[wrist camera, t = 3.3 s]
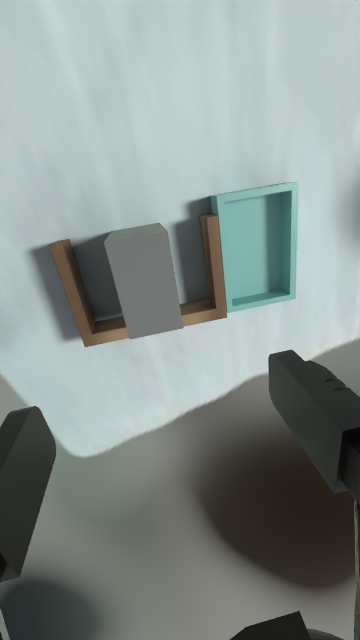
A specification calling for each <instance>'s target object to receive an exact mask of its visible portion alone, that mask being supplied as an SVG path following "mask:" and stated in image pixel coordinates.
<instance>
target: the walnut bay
mask: <svg viewBox="0 0 360 640" xmlns="http://www.w3.org/2000/svg"><path fill="white" fill-rule="evenodd" d="M199 218H200V226H201V235H202V243H203V252H204V260H205V269H206V277H207V286H208V294H209V299H205V300H200V301H195V302H190V303H185V304H180V310H181V316H182V322H183V327H184V326H189V325H193V324H198V323H203V322H208V321H213V320H217V319H222V318H227V311H226V300H225V289H224V278H223V267H222V256H221V245H220V234H219V223H218V216H217V215H212V214H206V215H200V216H199ZM50 249H51V252H52V255H53V258H54V261H55V263H56V266H57V269H58V272H59V275H60V278H61V280H62V283H63V286H64V289H65V292H66V295H67V298H68V300H69V303H70V306H71V309H72V312H73V315H74V317H75V320H76V323H77V326H78V329H79V332H80V335H81V337H82V340H83V343H84V346H85V347H88V346H93V345H98V344H103V343H107V342H112V341H117V340H122V339H126V338H129V335H128V331H127V327H126V323H125V320H124V316H121V317H116V318H111V319H106V320H101V321H97V322H96V321H95V318H94V315H93V312H92V309H91V306H90V302H89V299H88V296H87V293H86V290H85V287H84V284H83V280H82V277H81V274H80V271H79V268H78V265H77V262H76V258H75V255H74V252H73V249H72V246H71V243H70V239H67V240H61V241H58V242H56V243H54V244H52V245H51V246H50Z"/></svg>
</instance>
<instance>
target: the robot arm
mask: <svg viewBox="0 0 360 640" xmlns="http://www.w3.org/2000/svg"><path fill="white" fill-rule="evenodd" d="M268 362H269V392H270V396H271V400H272V402H273V404H274V406H275V407H276V409H277V411H278V412H279V414H280V415H281V416H282V418H283V419H284V421H285V422H286V424H287V425H288V427H289V428H290V429H291V431H292V433H293V434H294V435H295V437H296V438H297V440H298V441H299V443H300V444H301V446H302V447H303V449H304V450H305V452H306V453H307V455H308V456H309V457H310V459H311V460H312V462H313V463H314V465H315V466H316V468H317V469H318V471H319V472H320V473H321V475H322V476H323V478H324V479H325V481H326V482H327V484H328V485H329V487H330V488H331V489H332V491H333V493H334V494H336V493H340V492H344V491H347V490H349V491H350V492H351V494H352V496H353V497H354V498H355V547H356V596H355V607H354V640H360V397H359V396H358V395H356V394H355V393H354V392H353V391H352V390H351V389H350V388H347V387H346V385H345V384H344V383H343V382H342V381H340V380H339V379H337V377H336V376H335V375H334V374H332V373H331V372H330V371H329V370H328V369H327V368H325V367H323V366H321V365H319V364H317V363H315V362H313V361H311V360H310V361H304V360H303V359H302V358H301V357H300V356H299V355H298V354H297V353H295V352H294V351H293V350H287V351H283V352H278V353H274V354H270V355H269V360H268ZM55 457H56V445H55V440H54V437H53V435H52V433H51V431H50V429H49V427H48V425H47V423H46V421H45V419H44V417H43V414H42V412H41V410H40V409H39V408H38V407H37V406H33V407H29V408H24V409H20V410H15V411H11V412H10V413H9V414H8V415H7V417H6V418H5V420H4V422H3V424H2V425H1V427H0V582H3V581H7V580H11V579H14V578H18V577H20V574H21V571H22V567H23V564H24V560H25V557H26V554H27V551H28V547H29V544H30V540H31V537H32V534H33V530H34V527H35V524H36V521H37V517H38V514H39V511H40V507H41V504H42V501H43V497H44V494H45V490H46V487H47V484H48V481H49V477H50V474H51V471H52V467H53V464H54V460H55ZM0 640H10V639H9V636H8V633H7V630H6V626H5V623H4V620H3V616H2V613H1V610H0ZM230 640H344V639H341V638H339V637H336V636H334V635H332V634H329V633H326V632H322V631H318V630H313V629H306V626H305V624H304V621H303V619H302V616H301V614H300V611H298V612H294V613H291V614H288V615H285V616H281V617H278V618H275V619H271V620H268V621H264V622H261V623H258V624H254V625H251V626H248V627H245V628H244V629H243V630H242V631H240V632H239V633H238V634H236V635H235V636H234V637H233V638H232V639H230Z"/></svg>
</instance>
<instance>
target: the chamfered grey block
mask: <svg viewBox="0 0 360 640" xmlns="http://www.w3.org/2000/svg"><path fill="white" fill-rule="evenodd" d="M104 245H105V249H106V252H107V256H108V260H109V264H110V267H111V271H112V275H113V278H114V282H115V286H116V290H117V293H118V297H119V301H120V305H121V308H122V312H123V316H124V320H125V323H126V327H127V331H128V335H129V338H130V339H134V338H139V337H143V336H148V335H153V334H158V333H162V332H167V331H172V330H177V329H182V328H183V322H182V316H181V310H180V304H179V298H178V292H177V286H176V280H175V274H174V268H173V262H172V256H171V251H170V245H169V239H168V233H167V230H166V229H165V228H164V227H163V226H162V225H161V224H160V223H156V224H150V225H144V226H139V227H133V228H128V229H122V230H117V231H111V233H110V234H109V235H108V237H107V238H106V240H105V241H104Z"/></svg>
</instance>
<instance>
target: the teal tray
mask: <svg viewBox="0 0 360 640" xmlns="http://www.w3.org/2000/svg"><path fill="white" fill-rule="evenodd" d="M210 205H211V214H212V215H217V216H218V223H219V234H220V245H221V256H222V267H223V278H224V289H225V300H226V311H227V313H230V312H234V311H239V310H244V309H249V308H254V307H258V306H263V305H268V304H273V303H278V302H282V301H287V300H292V299H295V297H296V257H297V217H298V182H289V183H281V184H276V185H270V186H264V187H259V188H253V189H247V190H242V191H236V192H230V193H224V194H219V195H213V196H210Z"/></svg>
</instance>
